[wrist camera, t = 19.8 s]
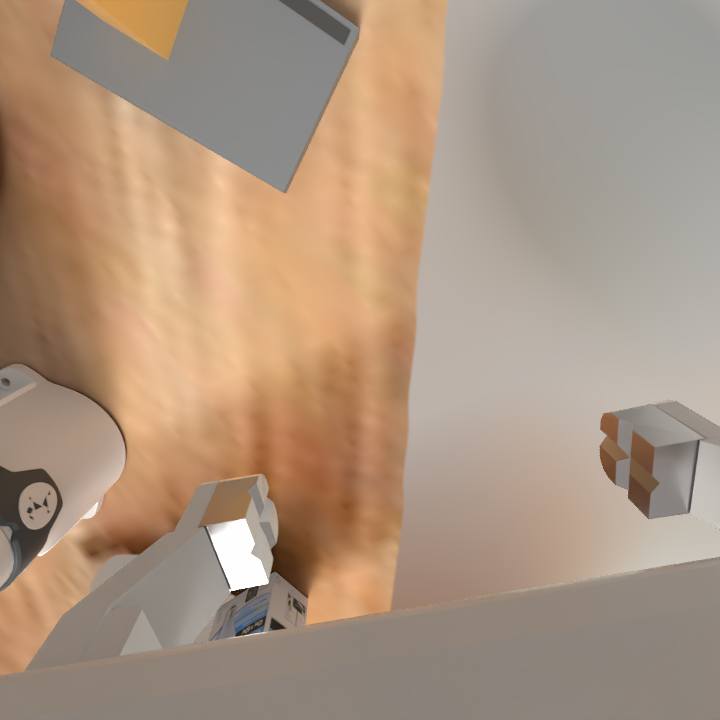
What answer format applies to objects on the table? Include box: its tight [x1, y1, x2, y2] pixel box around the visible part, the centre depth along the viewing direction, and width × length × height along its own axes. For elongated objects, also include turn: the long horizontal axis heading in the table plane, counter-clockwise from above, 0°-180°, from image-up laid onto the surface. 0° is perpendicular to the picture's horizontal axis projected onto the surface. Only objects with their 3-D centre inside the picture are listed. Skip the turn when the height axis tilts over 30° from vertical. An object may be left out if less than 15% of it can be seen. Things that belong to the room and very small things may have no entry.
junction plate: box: [51, 0, 360, 193], centre depth 29 cm, size 19×13×8 cm
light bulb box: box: [208, 572, 308, 641], centre depth 49 cm, size 11×7×11 cm, turn 129°
